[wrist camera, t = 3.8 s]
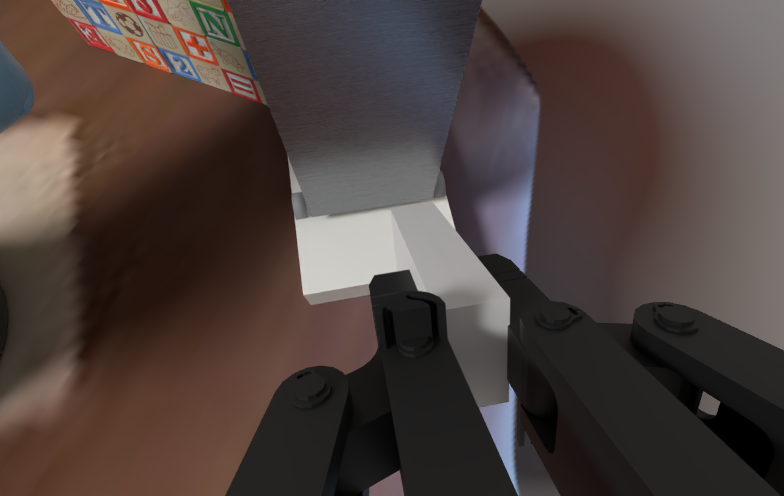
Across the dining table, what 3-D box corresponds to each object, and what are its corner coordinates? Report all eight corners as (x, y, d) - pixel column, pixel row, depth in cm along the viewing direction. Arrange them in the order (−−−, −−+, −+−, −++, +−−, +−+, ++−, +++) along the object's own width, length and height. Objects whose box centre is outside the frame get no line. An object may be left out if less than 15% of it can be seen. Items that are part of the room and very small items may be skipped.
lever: (444, 202, 27) (609, -310, 8) (300, 225, 26) (59, -286, 7) (437, 172, 28) (566, -359, 8) (297, 194, 27) (72, -343, 8)
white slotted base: (457, 279, 30) (478, 245, 23) (311, 305, 29) (290, 277, 22) (413, 109, 35) (421, 43, 29) (289, 126, 34) (267, 61, 28)
